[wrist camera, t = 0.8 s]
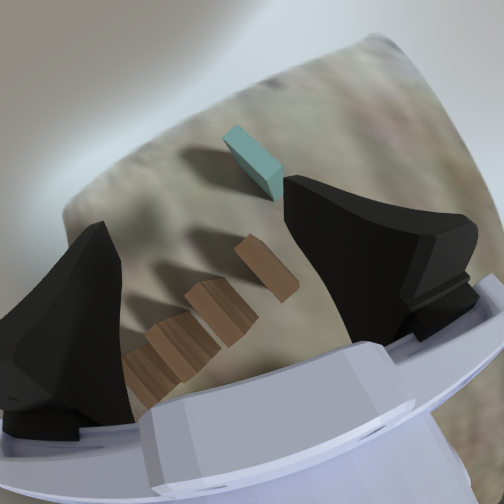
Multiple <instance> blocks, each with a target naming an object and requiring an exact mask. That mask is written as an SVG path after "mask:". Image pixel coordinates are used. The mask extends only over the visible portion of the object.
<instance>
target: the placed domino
mask: <svg viewBox="0 0 504 504" xmlns="http://www.w3.org/2000/svg"><path fill="white" fill-rule="evenodd" d="M222 139H223V140H224V142H225V143H226V145H227V146H228V148H229V150H230V151H231V153H232V154H233V156H234V157H235V159H236V161H237V162H238V164H239V165H240V167H241V168H242V169H243V170H244V171H245V172H246V173H247V174H248V175H249V176H250V177H251V178H252V179H253V180H254V181H255V182H256V183H257V184H258V185H259V186H260V187H261V188H262V189H263V190H264V191H265V192H266V193H267V194H268V195H269V196H270V197H271V198H272V199H273V200H274V201H276V200H277V199H279V198H280V197H281V196H282V195H283V177H285V175H284V169H283V166H282V165H281V164H280V163H279V162H278V161H277V160H276V159H275V158H274V157H273V156H272V155H271V154H270V153H269V152H268V151H267V150H265V149H264V148H263V147H262V146H261V145H260V144H259V143H258V142H257V141H256V140H255V139H253V138H252V137H251V136H250V135H249V134H248V133H247V132H246V131H244V130H243V129H242V128H241V127H240V126H239V125H238V124H237V125H236V126H235V127H233V128H232V129H231V130H230V131H229V132H228V133H227V134H225V135H224V136H223V137H222Z"/></svg>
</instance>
